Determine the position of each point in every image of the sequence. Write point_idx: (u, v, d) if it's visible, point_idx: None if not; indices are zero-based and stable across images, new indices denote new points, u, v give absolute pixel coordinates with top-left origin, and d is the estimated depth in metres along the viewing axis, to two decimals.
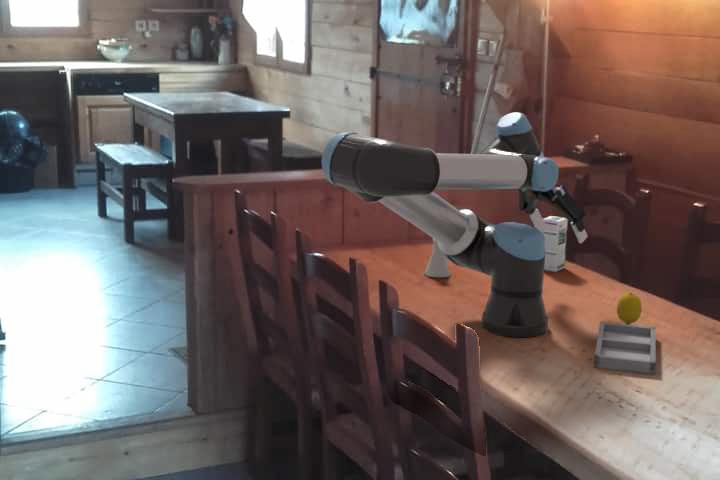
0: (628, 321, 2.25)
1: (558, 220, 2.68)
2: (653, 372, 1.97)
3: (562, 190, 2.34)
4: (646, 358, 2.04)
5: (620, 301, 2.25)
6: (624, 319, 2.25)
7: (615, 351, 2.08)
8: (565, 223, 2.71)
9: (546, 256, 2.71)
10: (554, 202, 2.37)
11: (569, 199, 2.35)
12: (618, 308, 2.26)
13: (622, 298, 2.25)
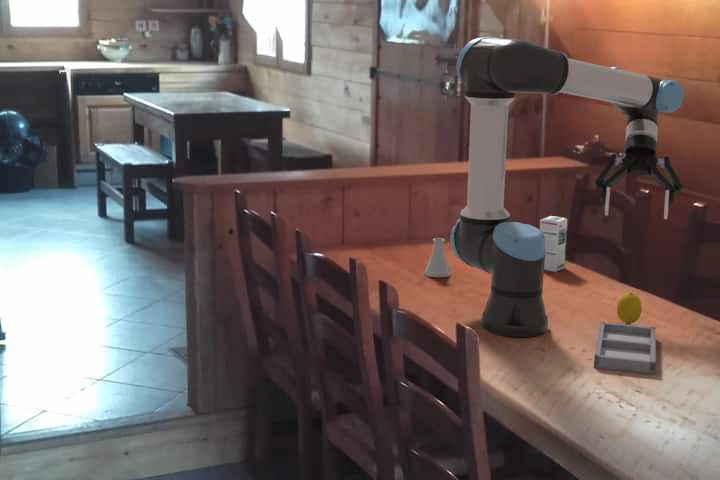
0: (628, 321, 2.25)
1: (558, 220, 2.68)
2: (653, 372, 1.97)
3: None
4: (646, 358, 2.04)
5: (620, 301, 2.25)
6: (624, 319, 2.25)
7: (615, 351, 2.08)
8: (565, 223, 2.71)
9: (546, 256, 2.71)
10: None
11: None
12: (618, 308, 2.26)
13: (622, 298, 2.25)
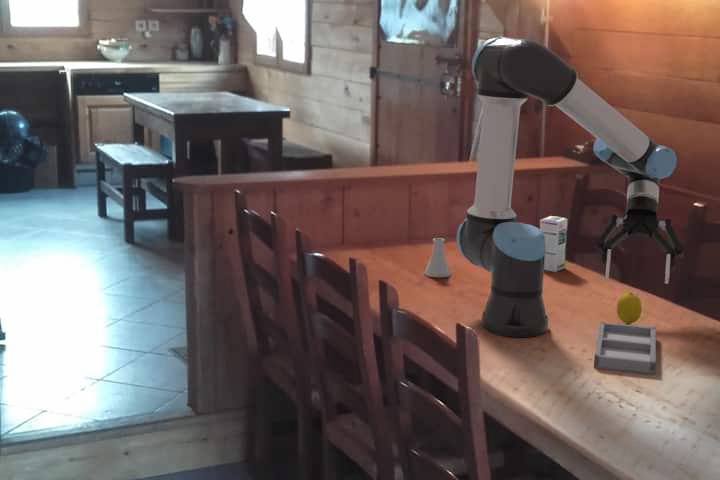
0: (628, 321, 2.25)
1: (558, 220, 2.68)
2: (653, 372, 1.97)
3: None
4: (646, 358, 2.04)
5: (620, 301, 2.25)
6: (624, 319, 2.25)
7: (615, 351, 2.08)
8: (565, 223, 2.71)
9: (546, 256, 2.71)
10: None
11: None
12: (618, 308, 2.26)
13: (622, 298, 2.25)
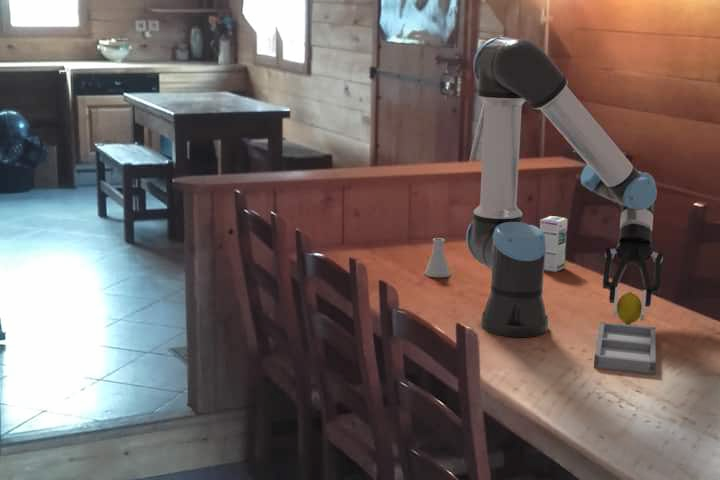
0: (628, 321, 2.25)
1: (558, 220, 2.68)
2: (653, 372, 1.97)
3: (662, 258, 2.29)
4: (646, 358, 2.04)
5: (620, 301, 2.25)
6: (624, 319, 2.25)
7: (615, 351, 2.08)
8: (565, 223, 2.71)
9: (546, 256, 2.71)
10: (645, 263, 2.28)
11: None
12: (618, 308, 2.26)
13: (622, 298, 2.25)
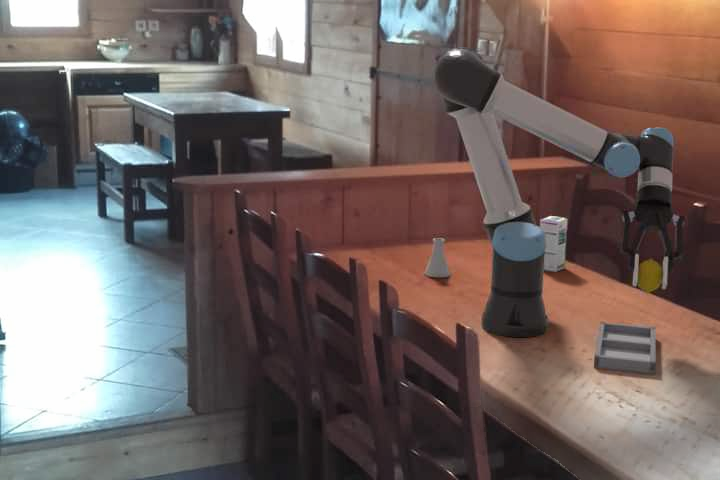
0: (648, 289, 2.13)
1: (558, 220, 2.68)
2: (653, 372, 1.97)
3: None
4: (646, 358, 2.04)
5: (640, 269, 2.13)
6: (644, 287, 2.13)
7: (615, 351, 2.08)
8: (565, 223, 2.71)
9: (546, 256, 2.71)
10: None
11: None
12: (638, 276, 2.13)
13: (642, 265, 2.13)
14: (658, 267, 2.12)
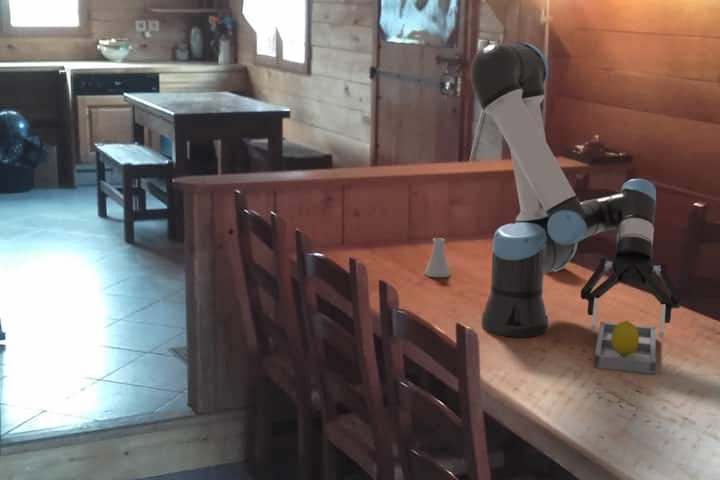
0: (624, 353, 2.02)
1: None
2: (653, 372, 1.97)
3: None
4: (646, 358, 2.04)
5: (615, 331, 2.02)
6: (619, 351, 2.02)
7: (615, 351, 2.08)
8: None
9: None
10: None
11: None
12: (613, 339, 2.03)
13: (617, 327, 2.02)
14: (633, 329, 2.01)
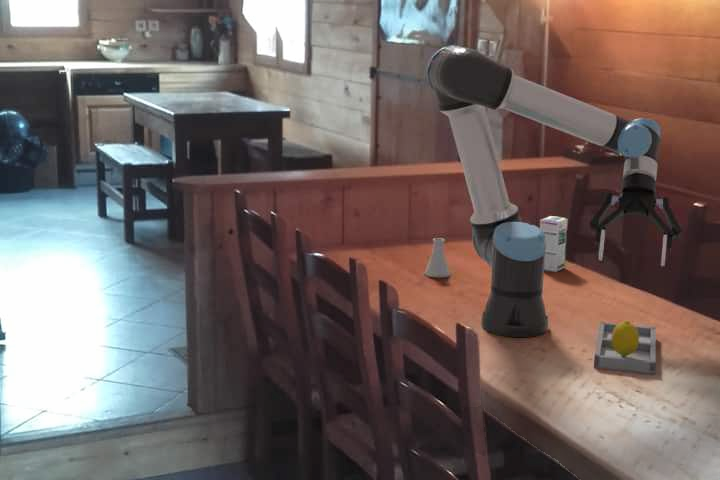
0: (624, 353, 2.02)
1: (558, 220, 2.68)
2: (653, 372, 1.97)
3: None
4: (646, 358, 2.04)
5: (615, 331, 2.02)
6: (619, 351, 2.02)
7: (615, 351, 2.08)
8: (565, 223, 2.71)
9: (546, 256, 2.71)
10: None
11: None
12: (613, 338, 2.03)
13: (617, 327, 2.02)
14: (634, 329, 2.01)
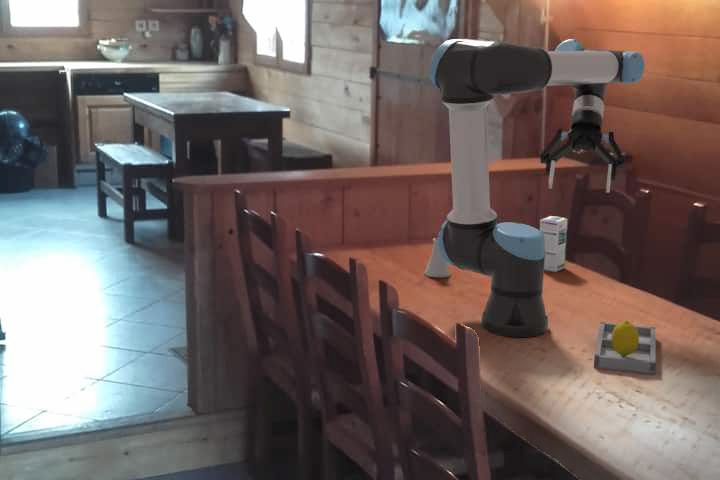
0: (624, 353, 2.02)
1: (558, 220, 2.68)
2: (653, 372, 1.97)
3: None
4: (646, 358, 2.04)
5: (615, 331, 2.02)
6: (619, 351, 2.02)
7: (615, 351, 2.08)
8: (565, 223, 2.71)
9: (546, 256, 2.71)
10: None
11: None
12: (613, 338, 2.03)
13: (617, 327, 2.02)
14: (634, 329, 2.01)
